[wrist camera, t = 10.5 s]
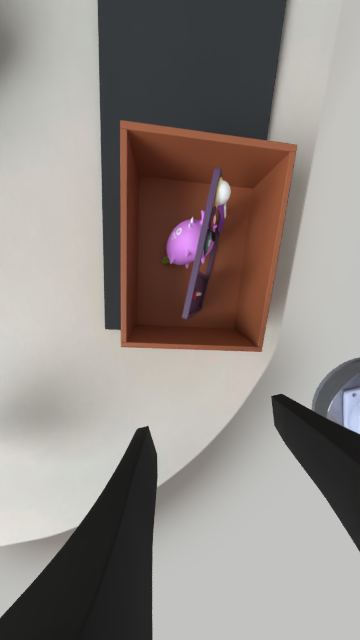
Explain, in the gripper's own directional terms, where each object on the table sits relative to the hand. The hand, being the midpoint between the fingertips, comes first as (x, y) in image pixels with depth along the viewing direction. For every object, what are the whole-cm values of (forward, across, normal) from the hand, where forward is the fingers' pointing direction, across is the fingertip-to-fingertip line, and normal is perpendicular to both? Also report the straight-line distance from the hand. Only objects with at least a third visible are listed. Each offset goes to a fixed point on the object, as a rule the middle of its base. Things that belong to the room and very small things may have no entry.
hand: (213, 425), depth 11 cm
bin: (+10, -2, -10) cm, 14 cm away
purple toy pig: (+10, -2, -10) cm, 14 cm away
